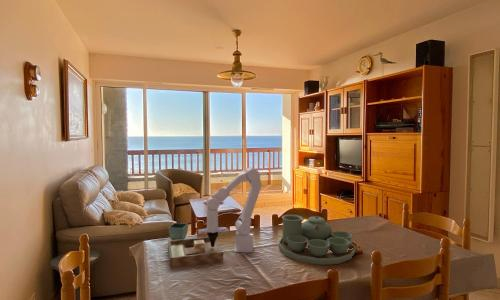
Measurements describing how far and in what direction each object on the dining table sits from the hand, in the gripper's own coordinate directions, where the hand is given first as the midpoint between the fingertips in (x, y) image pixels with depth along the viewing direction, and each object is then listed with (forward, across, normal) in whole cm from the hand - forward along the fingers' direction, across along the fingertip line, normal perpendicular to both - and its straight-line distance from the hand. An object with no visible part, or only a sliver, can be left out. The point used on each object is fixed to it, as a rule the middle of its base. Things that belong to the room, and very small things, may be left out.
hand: (212, 246), depth 161 cm
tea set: (+4, +55, -11) cm, 56 cm away
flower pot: (+4, -16, +23) cm, 28 cm away
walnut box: (+3, -9, 0) cm, 9 cm away
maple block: (+1, -7, 0) cm, 7 cm away
